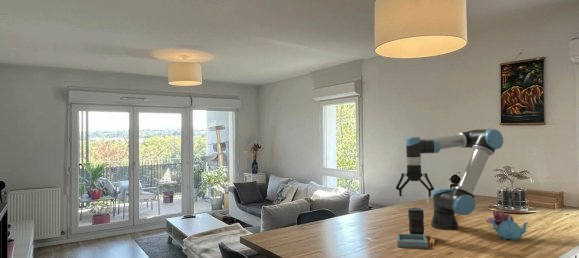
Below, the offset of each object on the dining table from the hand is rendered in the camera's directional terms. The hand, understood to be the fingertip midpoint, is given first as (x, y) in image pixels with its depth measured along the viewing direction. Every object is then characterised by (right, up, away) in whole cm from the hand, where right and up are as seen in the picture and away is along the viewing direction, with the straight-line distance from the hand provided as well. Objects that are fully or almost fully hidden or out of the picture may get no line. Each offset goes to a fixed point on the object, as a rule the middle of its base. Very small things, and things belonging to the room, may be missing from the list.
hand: (415, 202), depth 197 cm
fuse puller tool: (+4, -18, -13) cm, 23 cm away
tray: (-7, -18, -14) cm, 24 cm away
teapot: (+47, -18, -10) cm, 51 cm away
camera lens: (+1, -19, -1) cm, 19 cm away
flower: (+55, -18, +12) cm, 59 cm away
